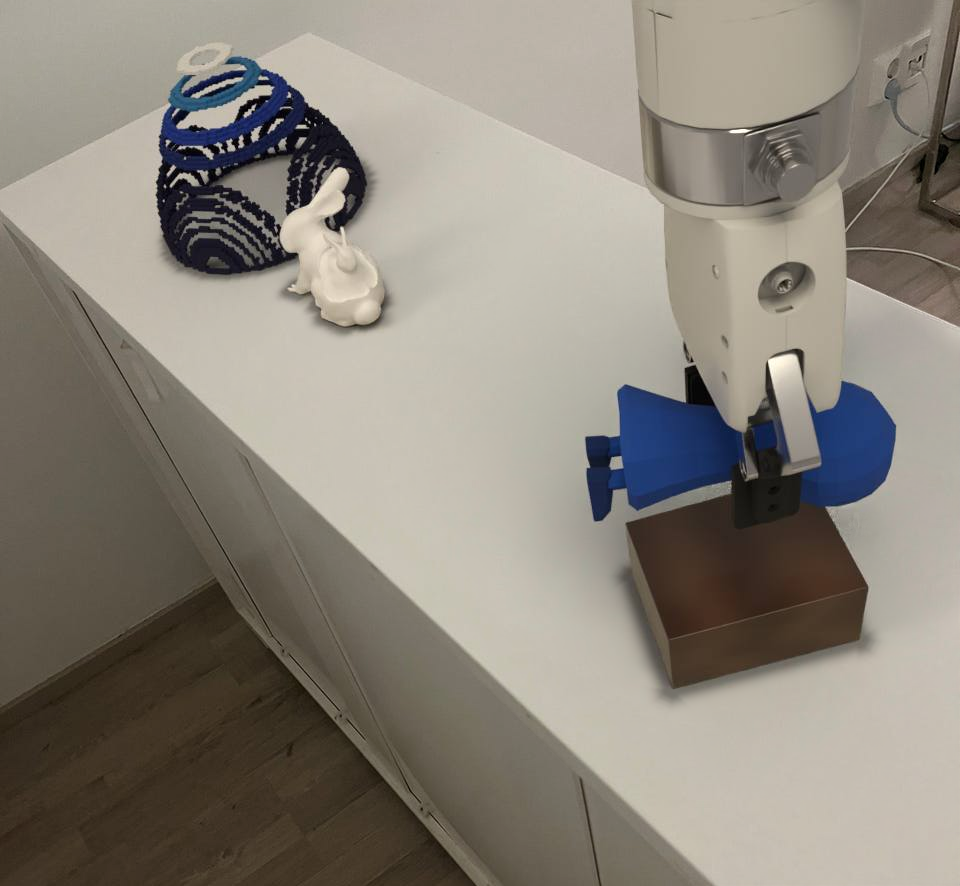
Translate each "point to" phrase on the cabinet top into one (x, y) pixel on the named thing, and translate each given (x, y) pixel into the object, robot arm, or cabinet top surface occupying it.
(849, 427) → the toy
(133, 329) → the cabinet top surface
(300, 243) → the rabbit figurine
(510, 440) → the cabinet top surface
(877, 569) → the cabinet top surface
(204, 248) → the blue openwork dome
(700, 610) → the walnut block
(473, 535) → the cabinet top surface
